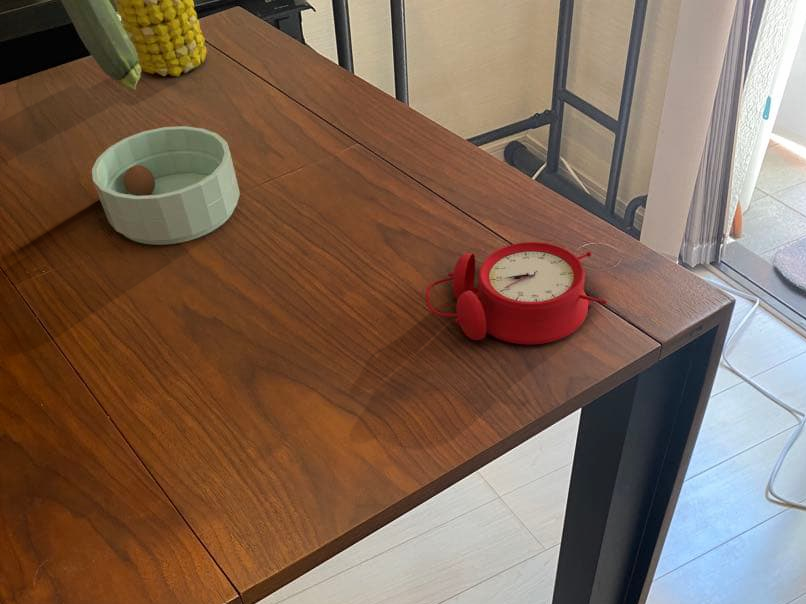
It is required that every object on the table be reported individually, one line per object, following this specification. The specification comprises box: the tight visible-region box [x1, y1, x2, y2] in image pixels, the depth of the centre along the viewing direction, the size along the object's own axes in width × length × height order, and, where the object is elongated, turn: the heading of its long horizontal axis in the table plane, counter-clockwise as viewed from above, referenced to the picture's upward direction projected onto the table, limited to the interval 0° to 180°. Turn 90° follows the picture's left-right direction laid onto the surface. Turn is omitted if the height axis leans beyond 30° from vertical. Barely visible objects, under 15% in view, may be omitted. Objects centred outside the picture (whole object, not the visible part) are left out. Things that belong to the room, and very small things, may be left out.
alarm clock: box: [425, 241, 607, 345], centre depth 75 cm, size 10×6×15 cm
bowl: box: [91, 125, 241, 246], centre depth 89 cm, size 14×14×6 cm
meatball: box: [124, 165, 155, 196], centre depth 90 cm, size 3×3×3 cm
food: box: [113, 0, 208, 77], centre depth 107 cm, size 15×12×10 cm
